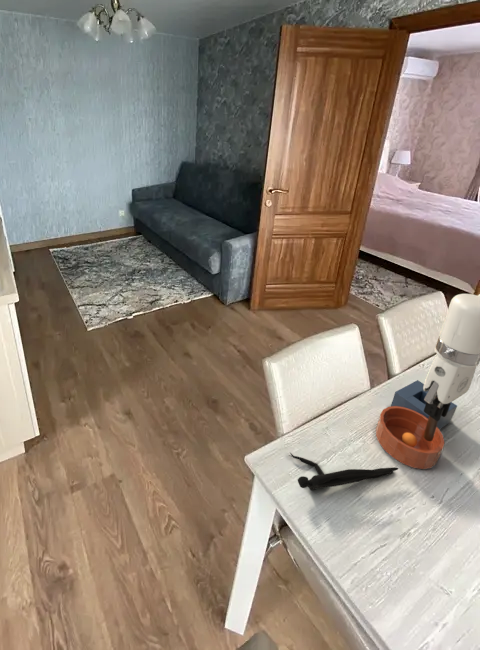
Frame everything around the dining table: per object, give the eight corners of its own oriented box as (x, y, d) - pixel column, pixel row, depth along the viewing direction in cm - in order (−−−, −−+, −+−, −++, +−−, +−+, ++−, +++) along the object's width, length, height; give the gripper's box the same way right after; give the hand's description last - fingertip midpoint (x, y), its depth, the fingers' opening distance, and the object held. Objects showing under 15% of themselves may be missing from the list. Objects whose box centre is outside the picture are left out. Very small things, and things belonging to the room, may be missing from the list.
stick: (434, 440, 82) (447, 396, 78) (429, 442, 81) (441, 399, 77) (426, 434, 84) (439, 391, 79) (421, 436, 83) (433, 393, 79)
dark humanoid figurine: (384, 430, 84) (289, 440, 79) (407, 470, 77) (306, 484, 73) (368, 443, 89) (279, 454, 84) (389, 483, 82) (293, 496, 78)
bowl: (448, 456, 85) (456, 439, 83) (415, 480, 80) (422, 462, 77) (396, 415, 96) (401, 399, 94) (363, 434, 91) (368, 417, 88)
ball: (415, 430, 87) (422, 444, 85) (407, 435, 89) (415, 449, 87) (403, 430, 87) (411, 443, 84) (396, 435, 89) (403, 449, 86)
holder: (450, 422, 94) (457, 405, 92) (428, 436, 90) (434, 420, 88) (412, 395, 103) (417, 379, 101) (390, 407, 99) (395, 391, 96)
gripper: (457, 373, 67) (431, 440, 74) (498, 349, 73) (471, 413, 80) (417, 350, 73) (397, 414, 80) (459, 330, 80) (437, 391, 87)
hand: (434, 413), depth 80 cm, fingers closed on stick, 1 cm apart
